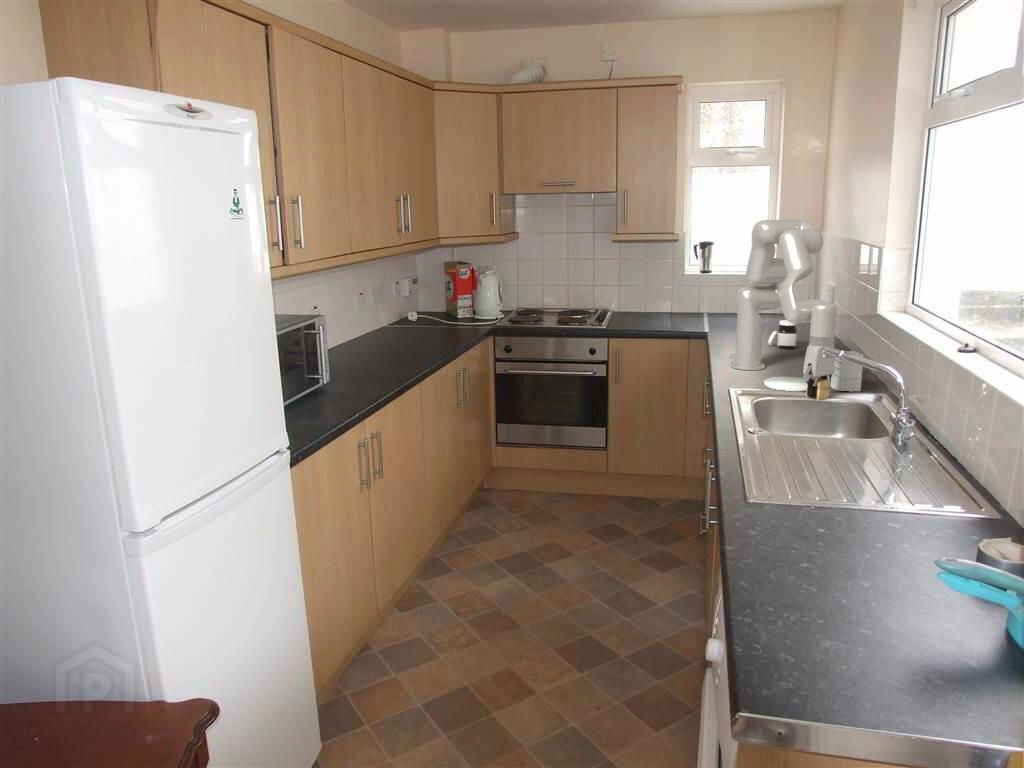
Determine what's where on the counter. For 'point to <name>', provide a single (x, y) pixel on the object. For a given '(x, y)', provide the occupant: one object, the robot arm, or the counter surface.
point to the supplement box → (847, 374)
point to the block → (821, 389)
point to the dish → (786, 383)
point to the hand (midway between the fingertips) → (817, 395)
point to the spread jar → (784, 335)
